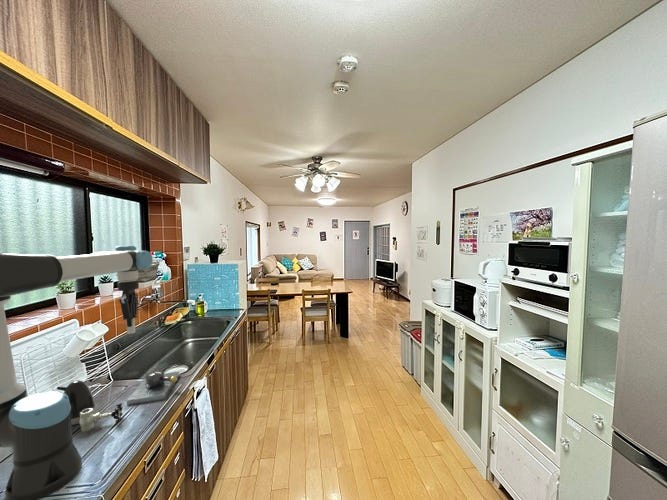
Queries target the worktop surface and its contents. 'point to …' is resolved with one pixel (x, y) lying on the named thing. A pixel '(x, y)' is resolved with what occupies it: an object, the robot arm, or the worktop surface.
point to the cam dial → (157, 378)
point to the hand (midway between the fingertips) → (131, 333)
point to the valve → (97, 417)
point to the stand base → (151, 391)
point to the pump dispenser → (78, 399)
